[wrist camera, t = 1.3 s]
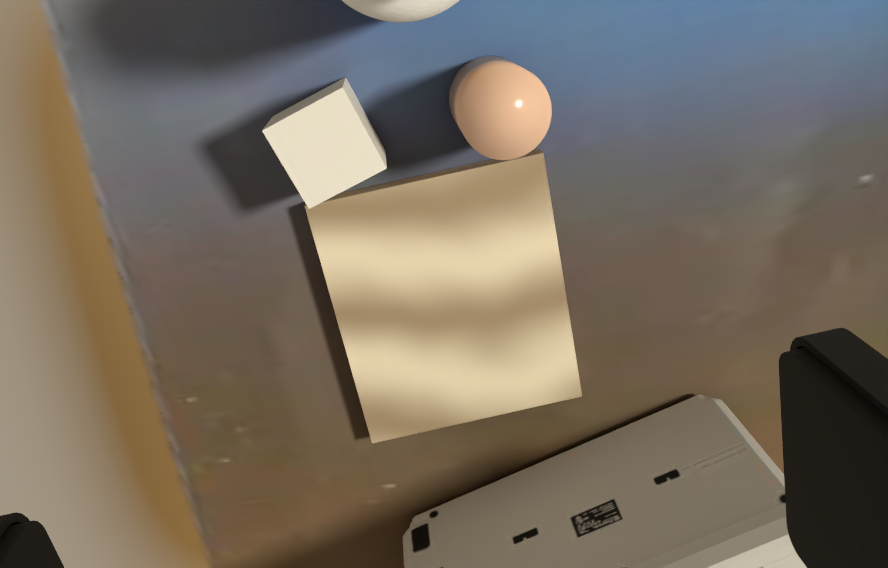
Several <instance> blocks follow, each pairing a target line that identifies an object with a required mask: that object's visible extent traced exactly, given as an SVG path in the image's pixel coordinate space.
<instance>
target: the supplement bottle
mask: <svg viewBox="0 0 888 568" xmlns="http://www.w3.org/2000/svg"><path fill="white" fill-rule="evenodd" d="M342 1H343V2H344V3H345V4H347V5H348V6H350V7H351V8H353V9H354V10H356V11H358V12H360V13H362V14H364V15H366V16H369V17H372V18H375V19H379V20H383V21H389V22H412V21H418V20H423V19H426V18H429V17H432V16H435V15H437V14H439V13H441V12H443V11H445V10H447V9H448V8H450V7H451V6H453V5H454V4H456V3H457V2H458V1H459V0H342Z"/></svg>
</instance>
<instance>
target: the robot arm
mask: <svg viewBox="0 0 888 568" xmlns="http://www.w3.org/2000/svg"><path fill="white" fill-rule="evenodd" d="M779 378H780V399H781V419H782V440H783V461H784V481H785V502H786V523H787V530H788V534H789V537H790V540H791V543H792V545H793V547H794V549H795V551H796V553H797V554H798V556H799V558H800V559H801V560H802V562H803V563H804V564H805V566H806V567H807V568H888V359H887V358H886V357H884V356H883V355H882V354H880V353H879V352H877V351H876V350H875V349H873V348H872V347H871V346H869V345H868V344H867V343H865V342H864V341H862V340H861V339H860V338H858V337H857V336H856V335H854V334H853V333H852V332H850V331H849V330H847V329H844V328H837V329H833V330H828V331H824V332H819V333H815V334H810V335H806V336H801V337H797V338H795V339H794V340H793V341H792V344H791V347H790V351H788V352H784V353H782V354H781V356H780V359H779ZM0 568H64V566H63V564H62V562H61V560H60V558H59V556H58V554H57V552H56V550H55V548H54V546H53V544H52V542H51V540H50V538H49V536H48V534H47V532H46V530H45V528H44V527H43V525H42V524H40V523H39V522H38V521H29V519H28V518H27V517H25V516H24V515H23V514H21V513H11V514H7V515H2V516H0Z"/></svg>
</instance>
